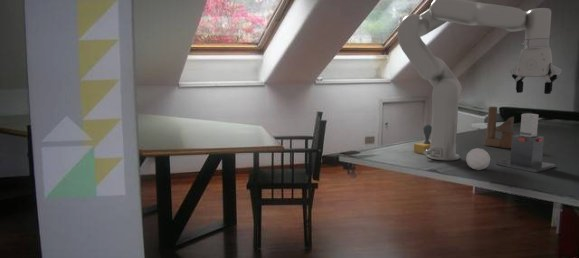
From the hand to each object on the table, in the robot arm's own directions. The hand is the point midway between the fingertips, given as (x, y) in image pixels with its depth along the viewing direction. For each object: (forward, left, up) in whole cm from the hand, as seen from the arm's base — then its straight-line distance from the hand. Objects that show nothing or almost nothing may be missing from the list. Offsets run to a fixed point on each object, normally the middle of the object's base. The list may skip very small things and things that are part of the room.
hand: (533, 93), depth 150 cm
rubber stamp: (-10, +37, -27) cm, 47 cm away
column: (0, 0, -26) cm, 26 cm away
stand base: (0, 0, -27) cm, 27 cm away
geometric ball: (-20, +7, -27) cm, 34 cm away
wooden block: (+26, +26, -27) cm, 46 cm away
